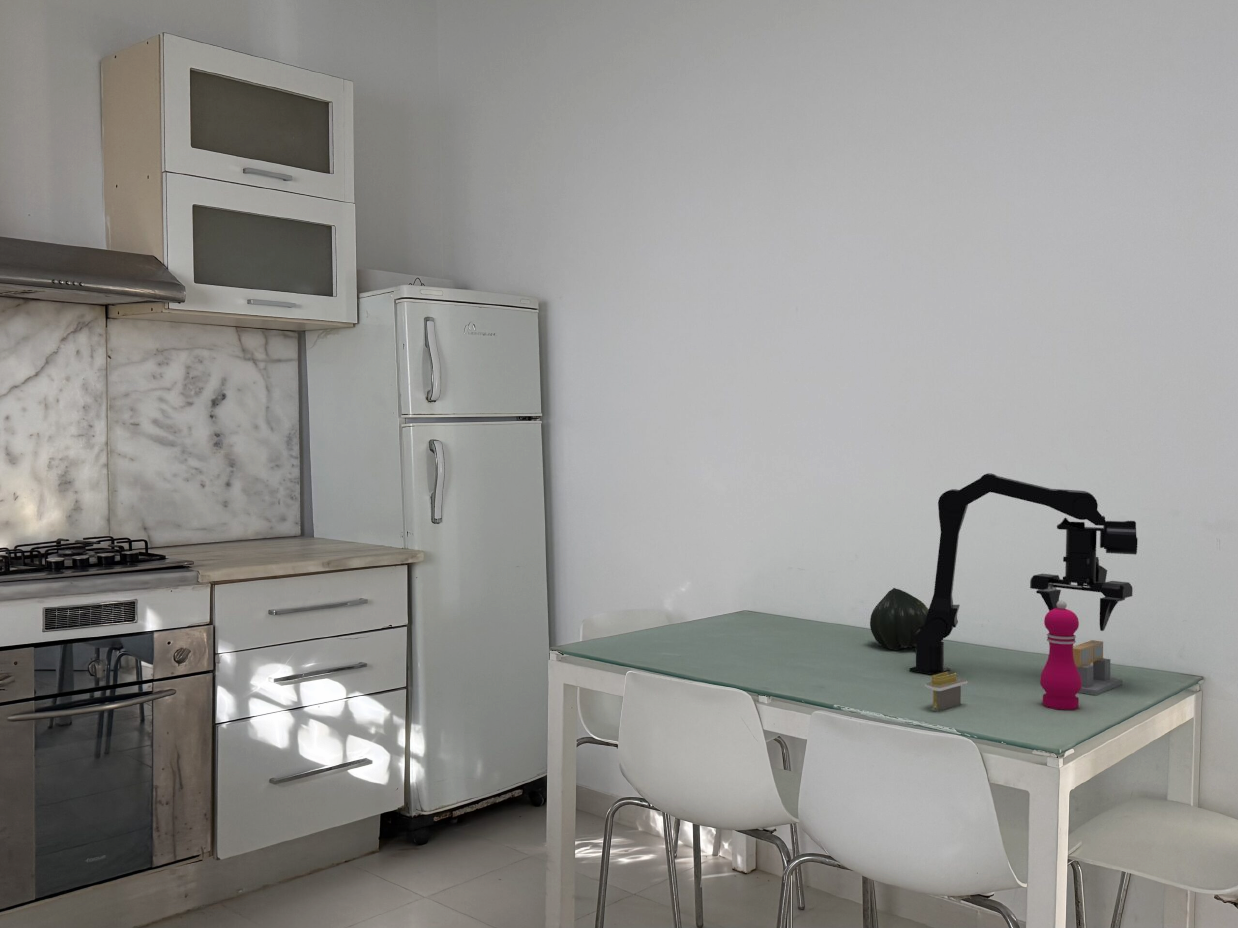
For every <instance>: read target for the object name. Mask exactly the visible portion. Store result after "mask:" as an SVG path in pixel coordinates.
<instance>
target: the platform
mask: <svg viewBox="0 0 1238 928" xmlns="http://www.w3.org/2000/svg"><path fill="white" fill-rule="evenodd" d="M924 684H925V685H924V686H925V688H927V689H929V690H932V692H933V693H932V694H933V695H932V708H933V709H936V712H940V711H943V710H946V709H949V708H953V707H956V706H960V705H962V703H961V700H962V699H961V697H962V696H961V695H962V694H961V693H962V686H963V685H967V684H968V680H967V679H963V678H957V673H956V672H955V673H951V674H949V671H948V672H945V673H941V674H937V675H931V681H928V682H926V683H924Z"/></svg>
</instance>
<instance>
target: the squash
mask: <svg viewBox="0 0 1238 928" xmlns="http://www.w3.org/2000/svg"><path fill="white" fill-rule="evenodd" d="M928 610H929V607H927V605H926V603H924V602H923V601H921V600H920V599H918V598H917V597H914V596H913V595H911V594H910V593H908V592H907V591H904V590H902V589H900V588H896V587H893V588H892V589H890V590H888V591H887V593H886V594H885V595H884V596H883V598H882V599H880V601H879V602H878V603H877V604H876V606H875V607H874V608H873V610H872V612H871V615H870V620H869V627H870V628H869V629H870V631H871V634H872V636H873V638H874V639H875V641H876V642H877V644H878V645H880V647H883V648H885V649H889V650H895V651H898V650H901V649H902V648H904V649H907V648H908V647H910V648H911V649H912V650H915V649H916V642H915V639H914V635H915V634H916V633H917V631H918V630H919V629H920V628H921V627H922V626H923V625H924V623H925V620H926V616H927V613H928Z"/></svg>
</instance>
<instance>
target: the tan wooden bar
mask: <svg viewBox="0 0 1238 928" xmlns="http://www.w3.org/2000/svg"><path fill="white" fill-rule="evenodd" d="M1073 658H1074V662H1075V665H1076V666H1077V667H1081V666H1084V665H1086V664H1089V663H1092V662H1095V661H1097V660H1100V659H1103V658H1104V641H1102V640H1096V639H1095V640H1092V639H1091V640H1088V641H1086V642H1082V643H1079V644H1077V645H1073Z"/></svg>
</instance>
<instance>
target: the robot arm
mask: <svg viewBox="0 0 1238 928" xmlns="http://www.w3.org/2000/svg"><path fill="white" fill-rule="evenodd" d="M990 493H993V494H998V495H1000V496H1001V495H1002V496H1005V497H1010V498H1013V499H1017V500H1023V501H1024V502H1030V503H1033V504H1034V503H1035V504H1039V505H1041V506H1042V505H1043V506H1046V507H1049V508H1051V509H1053V510H1055V511H1058V512H1060V513H1062V514H1065V515H1067V516H1069V517H1072V518H1074V519H1077V520H1081V521H1069V519H1068V518H1067V517H1063V519H1062V521H1061V522H1060V523H1058V524H1057V525H1056V529H1057V530H1061V531H1062V530H1063V531H1064V530H1065V533H1066V534H1065V556H1063V558H1062V560H1063V562H1064V563H1065V567H1064V568H1065V572H1064V574H1065V575H1064V576H1062V579H1061V578H1060V576H1059V575H1058V574H1052V573H1051V574H1049V573H1039V574H1034V575H1032V577H1031V578H1030V580H1029V582H1030V583H1029V588H1030V589H1031V590H1032V589H1033V590H1036V591H1035V593H1036V594H1040V596H1041V598H1042V600H1043V602H1044V603H1045V605H1046V607H1047V609H1048V612H1049V611H1050V610H1052V609H1056V608H1057V602H1058V601H1060V595H1061V591H1062V589H1065V590H1066V589H1068V590H1075V591H1076V590H1077V591H1085V592H1093V593H1101V594H1102V595H1103V596H1104V597H1100V598H1099V629H1100V630H1099V631H1101V632H1104V631H1105V629H1106V627H1107V625H1108V622H1109V619H1110V617H1111V616H1112V615H1111V614H1112V612H1113V611H1114V609H1115V608H1116V606H1117V604H1118V603H1119V602H1122V601H1125V599H1127V598H1130V597H1133V586H1132V584H1131V583H1130V582H1128V581H1119V580H1117V581H1116V580H1109V581H1107V580H1106V579H1107V574H1108V570H1107V569H1106V568H1105V567H1103V566H1102V565H1100V560H1099V556H1097V539H1098V537H1097V536H1098V534H1097V532H1099V548H1100V549H1104V550H1105V554H1118V555H1134V556H1135V555H1137V553H1138V542H1139V541H1138V540H1139V539H1138V537H1137V522H1136V521H1135V520H1123V521H1122V520H1121V521H1120V520H1106V517H1105V515H1102V514H1101V513H1100V511H1099V510H1098V506H1099V503H1098V501H1097V499H1096V498H1095V496H1094V495H1093V494H1092V493H1090V492H1088V491H1086V490H1077V489H1075V490H1074V489H1062V488H1051V487H1050V488H1049V487H1045V486H1042V485H1037V484H1032V483H1028V482H1025V481H1020V480H1017V479H1016V480H1015V479H1012V478H1007V477H1003V476H999V475H996V474H994V473H988V472H987V473H985V474H983V475H982V476H980V477H979V478H978V479H976V480H974V481H973V482H971V483H969V484H967V485H966V486H964V487H961V488H960V489H955V488H953V489H949V490H946V491H944V492H943V493H942V494H941V495H939V497H938V502H937V506H938V520H939V527H940V536H939V543H938V544H939V545H938V554H937V563H936V571H935V578H934V579H935V582H934V587H933V596H932V598H931V601H930V604H929V607H928V609H929V610H928V613H927V616H926V620H925V623H924V625H923V626H922V627H921V628H920V629H919V630H918V631H917V633H916V634H915V635H914V639H915V642H916V650H915V666H913V667H909V668H908V669H909V672H916V673H920V674H926V675H931V676H933V675H937V674H941V673H945V672H948V673H949V672H950V670H951V668H948V667H944V665H945V664H944V663H945V662H944V661H945V659H944V658H945V657H944V656H945V654H944V653H945V649H944V648H945V647H944V645H945V642H944V639H945V638H947V637H948V636H950V635H951V633H952V632H953V629H954V628H957V625H958V624H959V620H958V614H959V613H958V612H959V609H960V604H954V598H953V589H954V582H955V573H956V565H957V564H956V562H957V554H958V546H959V537H960V536H959V535H960V531H961V529H962V526H963V522H964V519H965V517H966V513H967V510H968V508H969V505H970V504H972V503H973V502H975V501H976V500H979V499H980V498H982V497H984V496H985V495H988V494H990ZM1085 520H1086V521H1088V522H1090V523H1092V524H1093V525H1095V527H1094V526H1092V527H1091V526H1086V525H1085ZM1096 526H1100V527H1096ZM1101 526H1102V527H1101ZM1072 583H1074V584H1072Z"/></svg>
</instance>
